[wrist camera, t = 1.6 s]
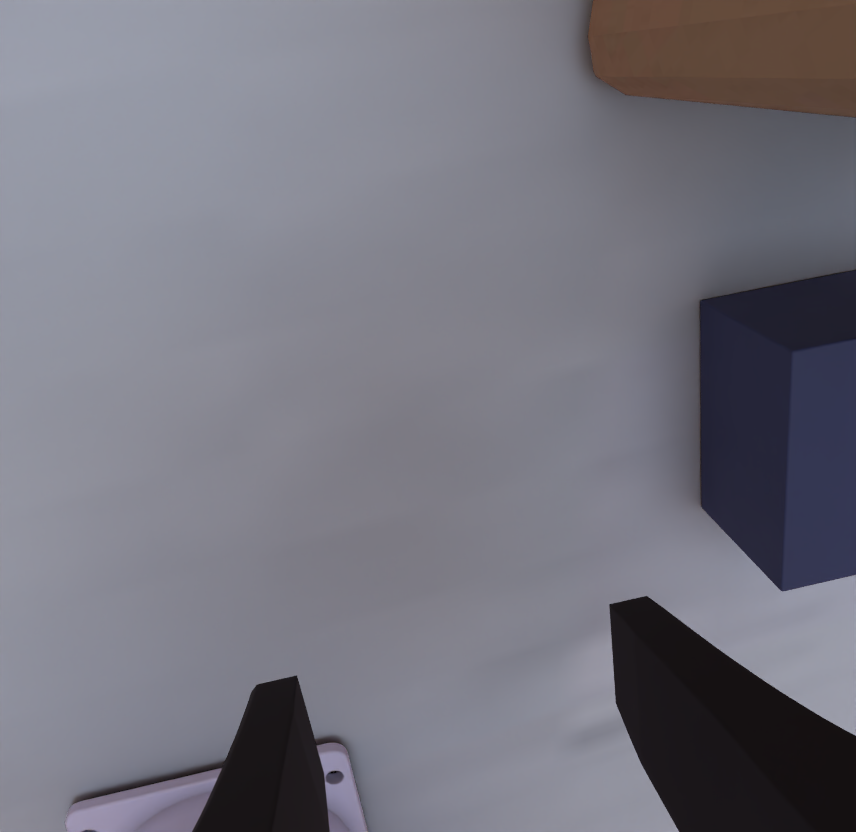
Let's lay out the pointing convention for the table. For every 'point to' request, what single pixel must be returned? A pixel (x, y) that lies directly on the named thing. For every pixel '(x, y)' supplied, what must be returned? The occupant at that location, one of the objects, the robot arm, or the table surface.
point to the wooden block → (730, 52)
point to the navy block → (783, 426)
